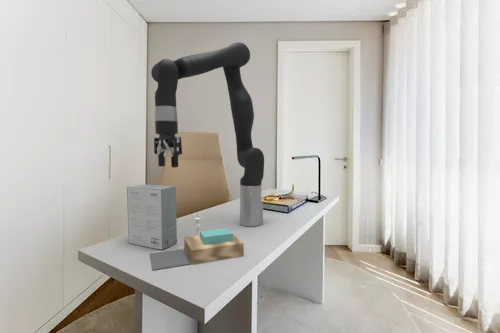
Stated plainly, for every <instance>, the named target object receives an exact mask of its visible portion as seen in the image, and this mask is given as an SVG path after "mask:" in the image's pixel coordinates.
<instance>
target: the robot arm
mask: <svg viewBox="0 0 500 333" xmlns="http://www.w3.org/2000/svg"><path fill="white" fill-rule="evenodd" d="M250 59H251V51H250V49H249V47H248V46H247V45H246V44H245V43H244V42H238V41H237V42H234V43H232V44H230V45H228V46H226V47H223V48H220V49H217V50H216V49H215V50H213V51H208V52H203V53H197V54H196V53H195V54H192V55H191V54H190V55H186V56H181V57H180V58H177V59H175V60H171V58H170V59H169V58H164V59H161V60H160V61H158V62H157V63H155V64H154V65H153V66H152V69H151V72H150V73H151V77H152V79H153V81H155V82H156V83H157V89H156V91H155V92H154V106H155V107H154V128H155V130H154V131H155V132H154V133H155V134H156V135H158V137H153V138H154V139H153V152H154V155H156V156H157V160H158V162H157V163H158V167H165V166H166V157H165V154H166V152H169V153H170V161H171V162H170V163H171V164H170V165H171V166H170V167H171V168H178V167H179V156H181V155H182V154H183V146H182V137H181V136H176V135H178V133H179V130H178V129H179V125H178V124H179V123H178V109H177V97H176V96H177V90H178V84H179V80H181V79H186V78H191V77H196V76H200V75H203V74H206V73H209V72H211V71H214V70H217V69H220V68H222V69H223V73H224V76H225V79H226V84H227V85H226V86H227V90H228V91H227V92H228V97H229V102H230V110H231V115H232V121H233V127H234V133H235V143H236V155H237V161H238V165H240V166H241V167H242V168H243V169H244V172H243V176H242V177H240V180H239V185H240V186H239V224H240V225H241V226H243V227H249V228H250V227H259V226H261V225H264V203H263V201H262V181H263V180H264V179H263V178H264V176H265V175H264V174H265V173H264V172H265V155H264V152H263V151H262V150H261V149H260V148H258V147H254V146H253V145H254V144H253V140H252V130H253V125H254V120H255V112H254V104H253V100H252V97H251V95H250V93H249V92H248V90H247V88H246V86H245V85H244V83H243V80H242V74H241V68H242V67H244V66H246V65H247V64H248V63H249V61H250Z"/></svg>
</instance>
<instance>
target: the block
mask: <svg viewBox="0 0 500 333" xmlns="http://www.w3.org/2000/svg"><path fill="white" fill-rule="evenodd" d="M199 232H200V240H201V241H202V242H203V244H204V245H208V244H215V243H222V242H229V241H233V234H234V233H232V232H231V231H230V230H229V229H228V228H227V227H226V228H217V229H210V230H209V229H208V230H199Z"/></svg>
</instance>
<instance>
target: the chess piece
mask: <svg viewBox="0 0 500 333" xmlns="http://www.w3.org/2000/svg"><path fill="white" fill-rule="evenodd" d="M194 216H195V217H194V222H195V224H194V227H195V232H194V233H195V235H194V236H200V226H201V224H200V221H201V214H199V212H196V214H194Z"/></svg>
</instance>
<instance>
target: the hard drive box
mask: <svg viewBox="0 0 500 333" xmlns="http://www.w3.org/2000/svg"><path fill="white" fill-rule="evenodd" d="M126 199H127V201H126V202H127V206H126V207H127V226H128V227H127V230H128V231H127V232H128V233H127V235H128V244H131V245H136V246H140V247H141V246H142V247H144V248H145V247H147V248H151V249H155V250H156V249H157V250H160V251H161V250H164V249H167V248H168V247H169V248H170V247H171V246H173V245H175V244H177V242H178V240H177V239H178V238H177V237H178V236H177V235H178V232H177V231H178V229H177V226H178V225H177V186H173V185H159V184H158V185H157V184H137V185H130V186H127V187H126Z"/></svg>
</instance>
